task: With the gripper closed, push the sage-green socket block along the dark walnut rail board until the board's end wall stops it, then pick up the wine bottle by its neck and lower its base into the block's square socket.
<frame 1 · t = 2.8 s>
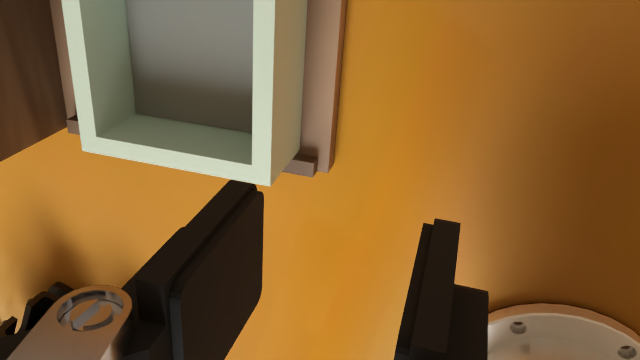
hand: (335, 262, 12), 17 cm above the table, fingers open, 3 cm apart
rail board: (186, 34, 30), on the table
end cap: (100, 337, 43), on the table
socket block: (190, 54, 26), point 4 cm above the table, slide at 0.0 cm
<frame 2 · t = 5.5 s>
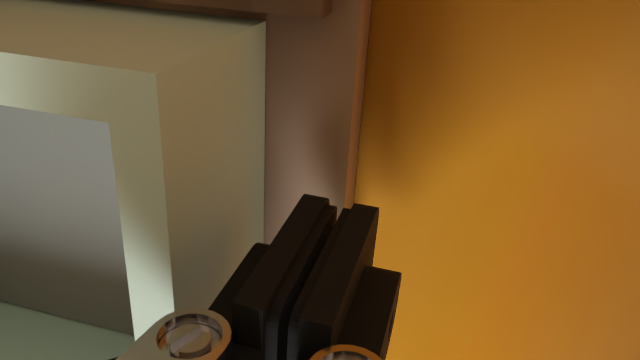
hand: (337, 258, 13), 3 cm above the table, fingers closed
rail board: (74, 158, 17), on the table
socket block: (36, 225, 13), point 3 cm above the table, slide at 0.4 cm, touching gripper
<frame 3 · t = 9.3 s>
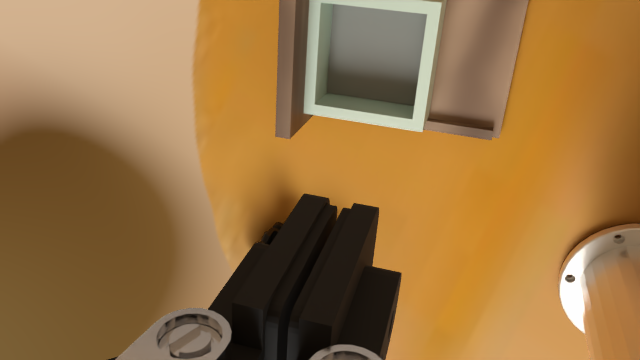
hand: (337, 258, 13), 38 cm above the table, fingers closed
rail board: (409, 50, 48), on the table
socket block: (373, 56, 45), point 4 cm above the table, slide at 4.4 cm, touching rail board
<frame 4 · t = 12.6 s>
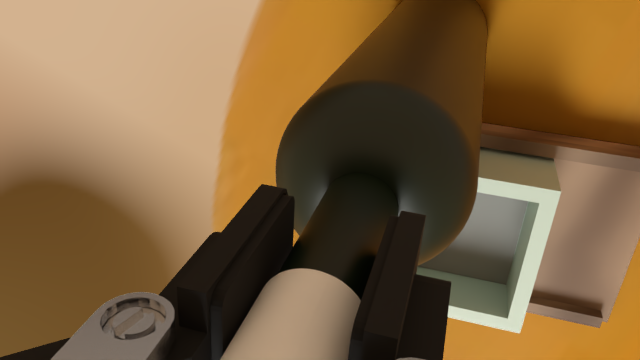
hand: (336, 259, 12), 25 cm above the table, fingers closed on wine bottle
rail board: (494, 211, 38), on the table
wine bottle: (437, 34, 34), on the table, touching gripper
socket block: (454, 230, 35), point 4 cm above the table, slide at 4.4 cm, touching rail board
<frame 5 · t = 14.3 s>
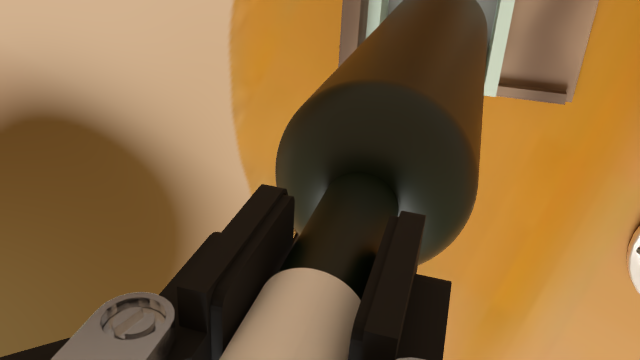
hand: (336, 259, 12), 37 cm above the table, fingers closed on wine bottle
rail board: (473, 9, 44), on the table
wine bottle: (437, 33, 34), point 12 cm above the table, touching gripper
socket block: (439, 15, 41), point 4 cm above the table, slide at 4.4 cm, touching rail board
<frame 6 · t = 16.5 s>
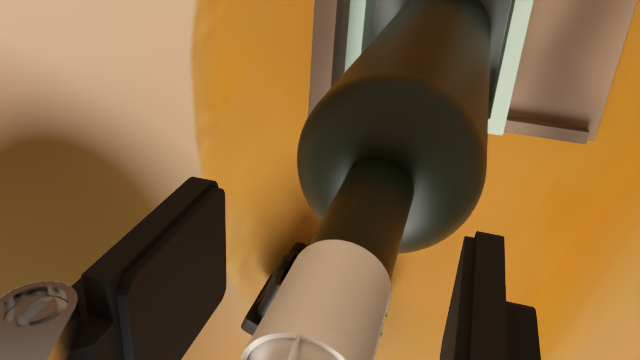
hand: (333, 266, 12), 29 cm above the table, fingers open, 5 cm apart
rail board: (477, 27, 37), on the table
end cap: (326, 292, 49), on the table
wine bottle: (442, 32, 35), point 2 cm above the table, touching socket block
socket block: (435, 34, 34), point 4 cm above the table, slide at 4.4 cm, touching wine bottle
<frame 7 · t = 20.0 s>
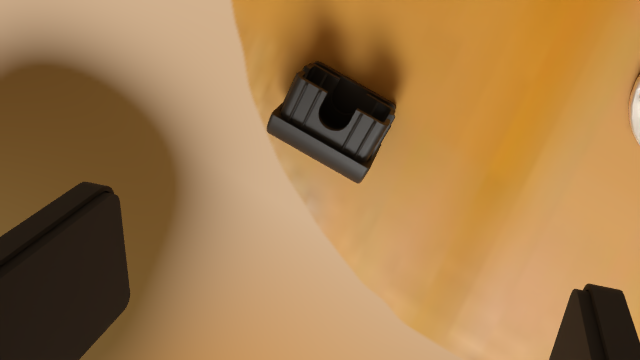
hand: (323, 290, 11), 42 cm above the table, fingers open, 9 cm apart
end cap: (341, 111, 56), on the table
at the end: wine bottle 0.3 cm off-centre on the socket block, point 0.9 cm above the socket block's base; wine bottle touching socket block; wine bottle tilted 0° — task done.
